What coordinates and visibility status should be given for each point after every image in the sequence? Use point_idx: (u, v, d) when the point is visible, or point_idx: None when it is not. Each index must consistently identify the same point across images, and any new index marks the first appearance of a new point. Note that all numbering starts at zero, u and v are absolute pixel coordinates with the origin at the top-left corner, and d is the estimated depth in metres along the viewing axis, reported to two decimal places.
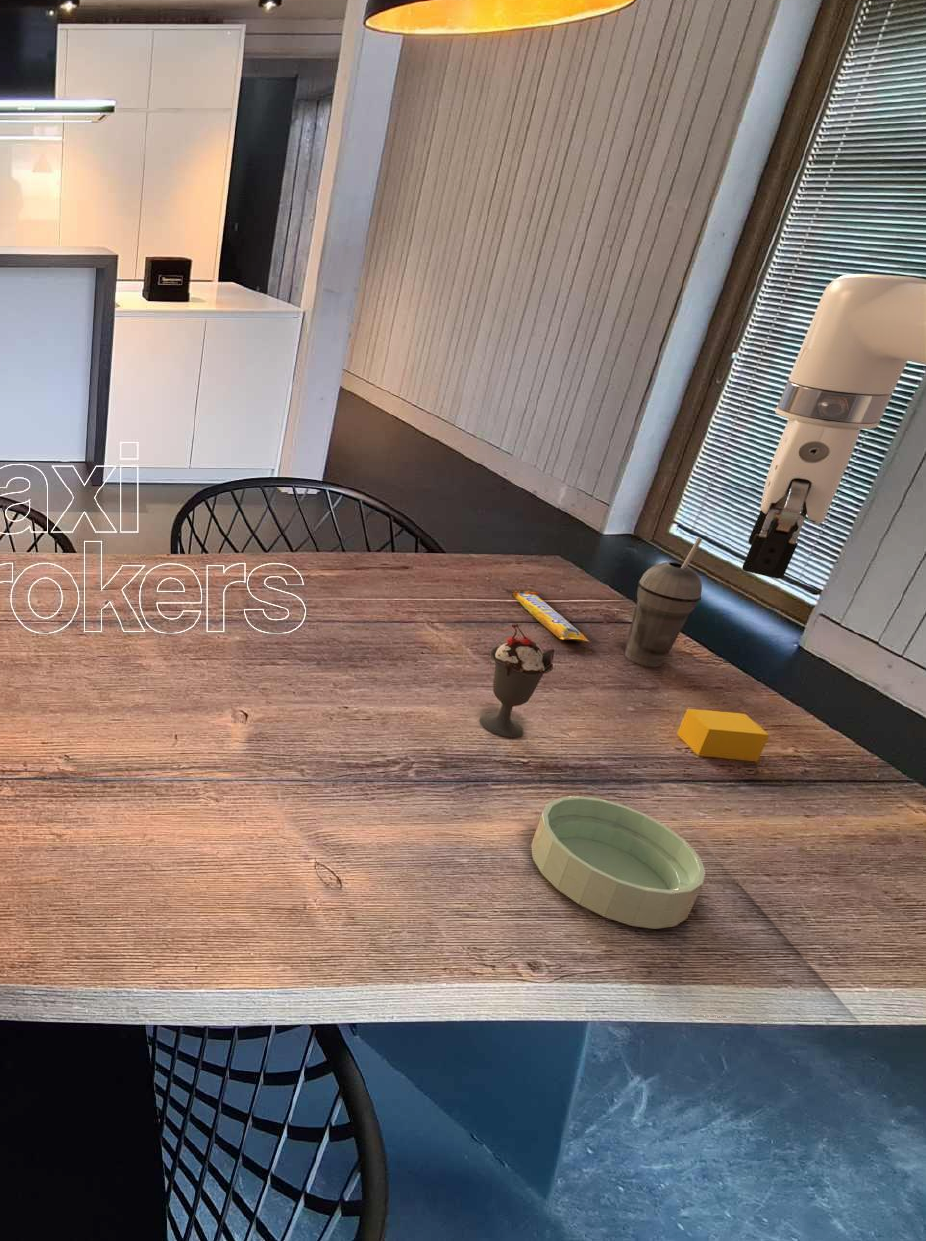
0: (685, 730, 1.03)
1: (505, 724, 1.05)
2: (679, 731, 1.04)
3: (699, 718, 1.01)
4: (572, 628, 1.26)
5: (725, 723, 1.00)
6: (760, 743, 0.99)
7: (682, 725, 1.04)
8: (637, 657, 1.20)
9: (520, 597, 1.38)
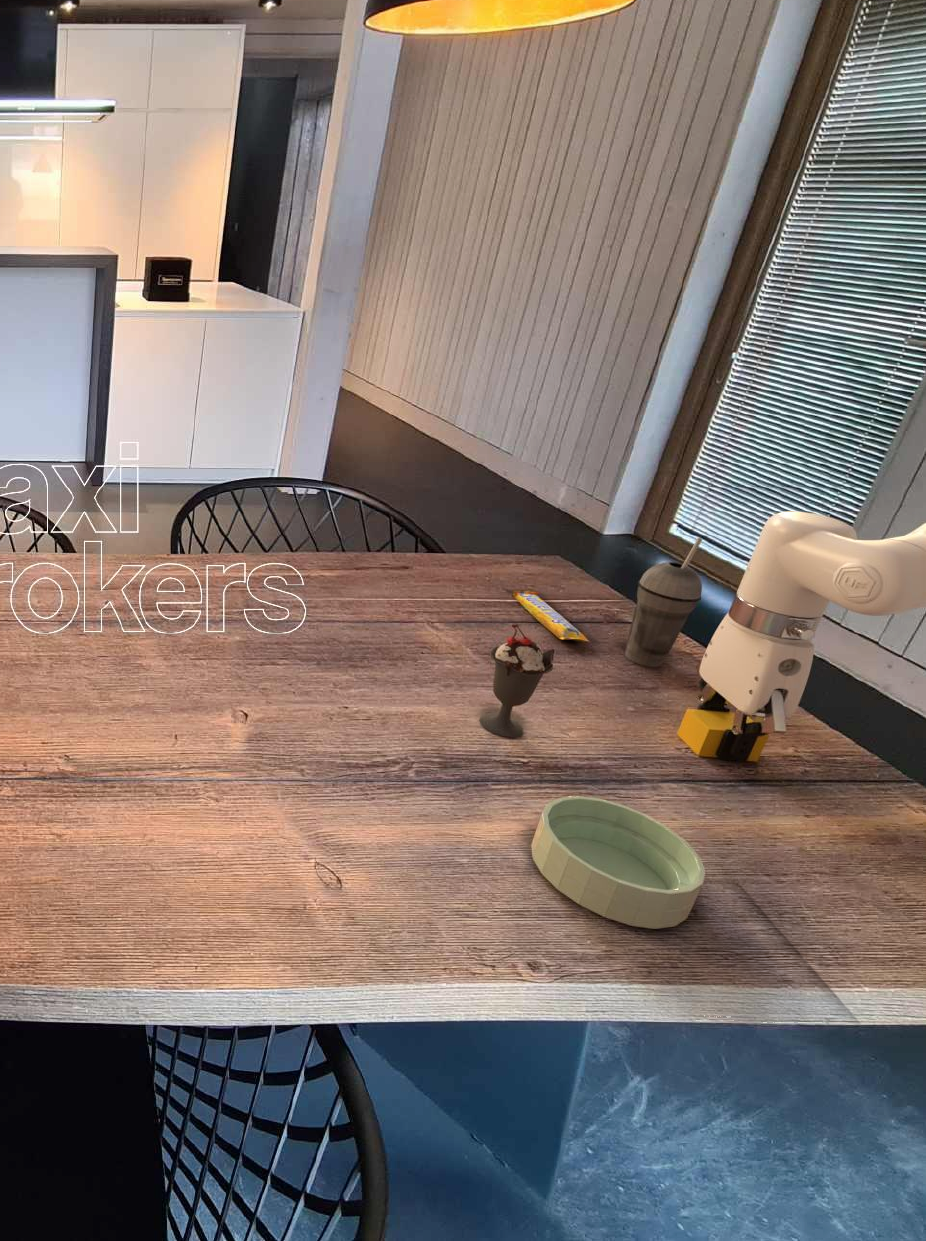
0: (685, 730, 1.03)
1: (505, 724, 1.05)
2: (679, 731, 1.04)
3: (699, 718, 1.01)
4: (572, 628, 1.26)
5: (725, 723, 1.00)
6: (760, 743, 0.99)
7: (682, 725, 1.04)
8: (637, 657, 1.20)
9: (520, 597, 1.38)
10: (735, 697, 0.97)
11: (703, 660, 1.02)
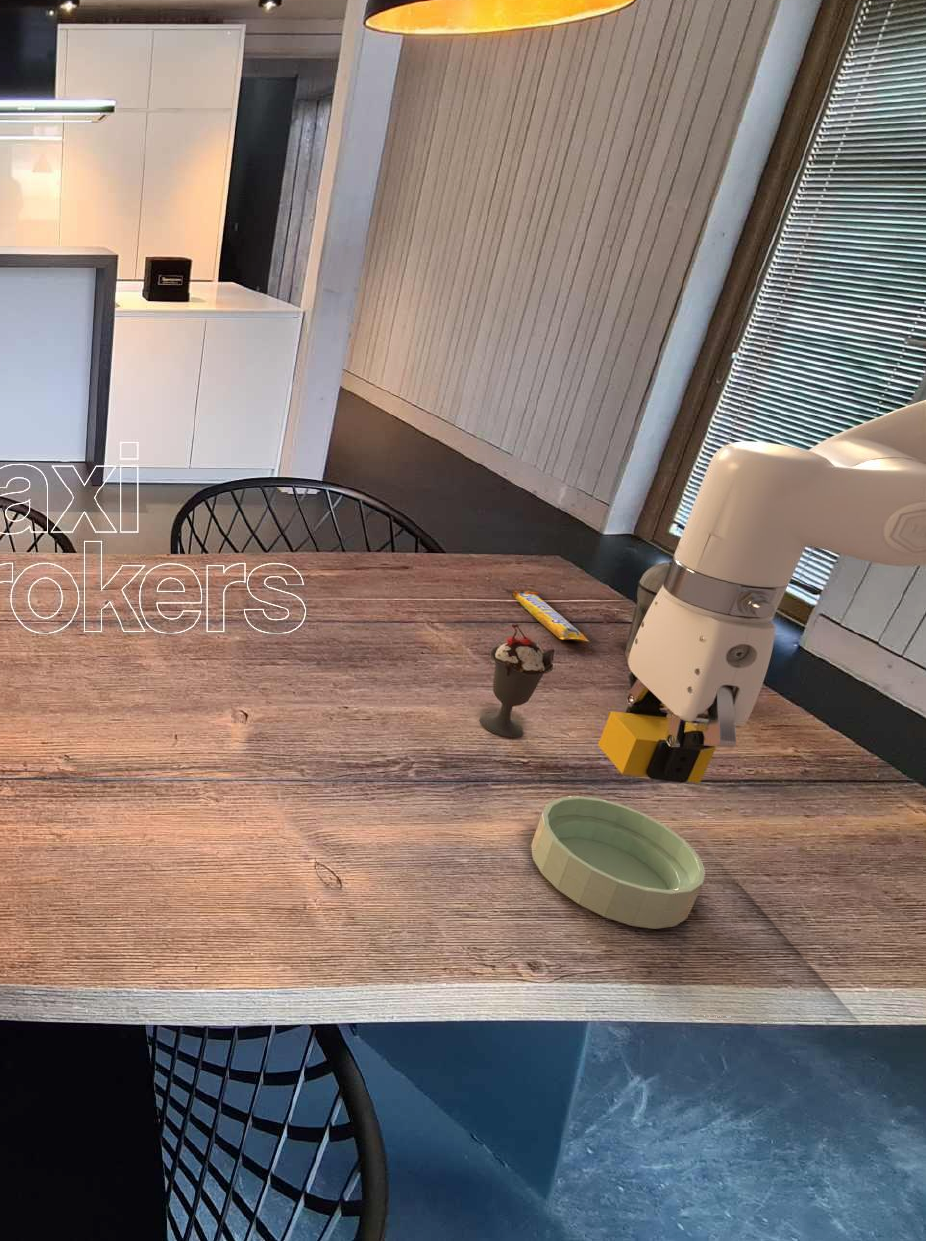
0: (608, 740, 0.78)
1: (505, 724, 1.05)
2: (601, 741, 0.79)
3: (625, 725, 0.76)
4: (572, 628, 1.26)
5: (659, 731, 0.75)
6: (704, 758, 0.73)
7: (604, 733, 0.78)
8: None
9: (520, 597, 1.38)
10: (670, 697, 0.71)
11: (633, 647, 0.77)
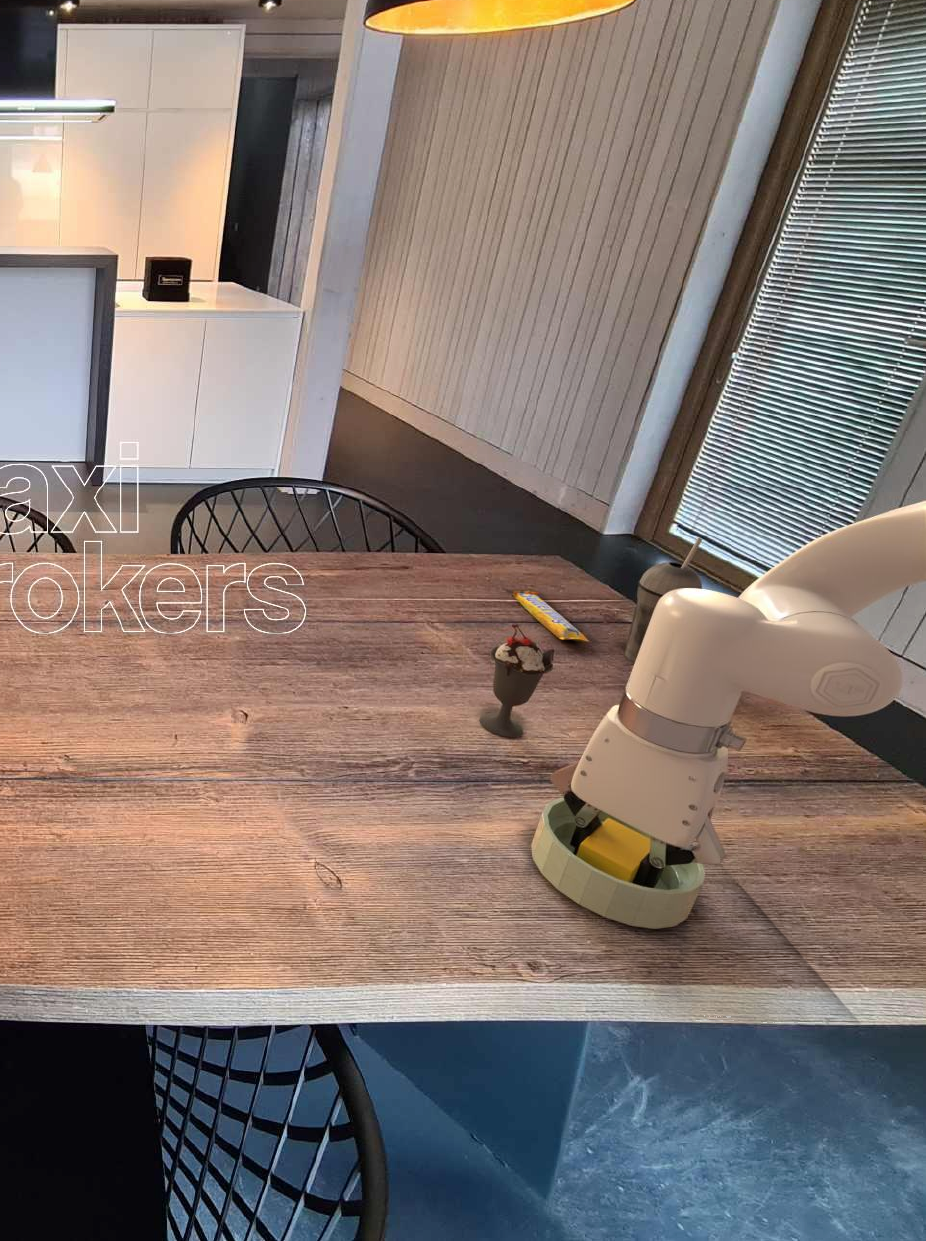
0: None
1: (505, 724, 1.05)
2: None
3: (607, 857, 0.79)
4: (572, 628, 1.26)
5: (624, 849, 0.80)
6: None
7: None
8: None
9: (520, 597, 1.38)
10: (657, 828, 0.76)
11: (580, 779, 0.80)
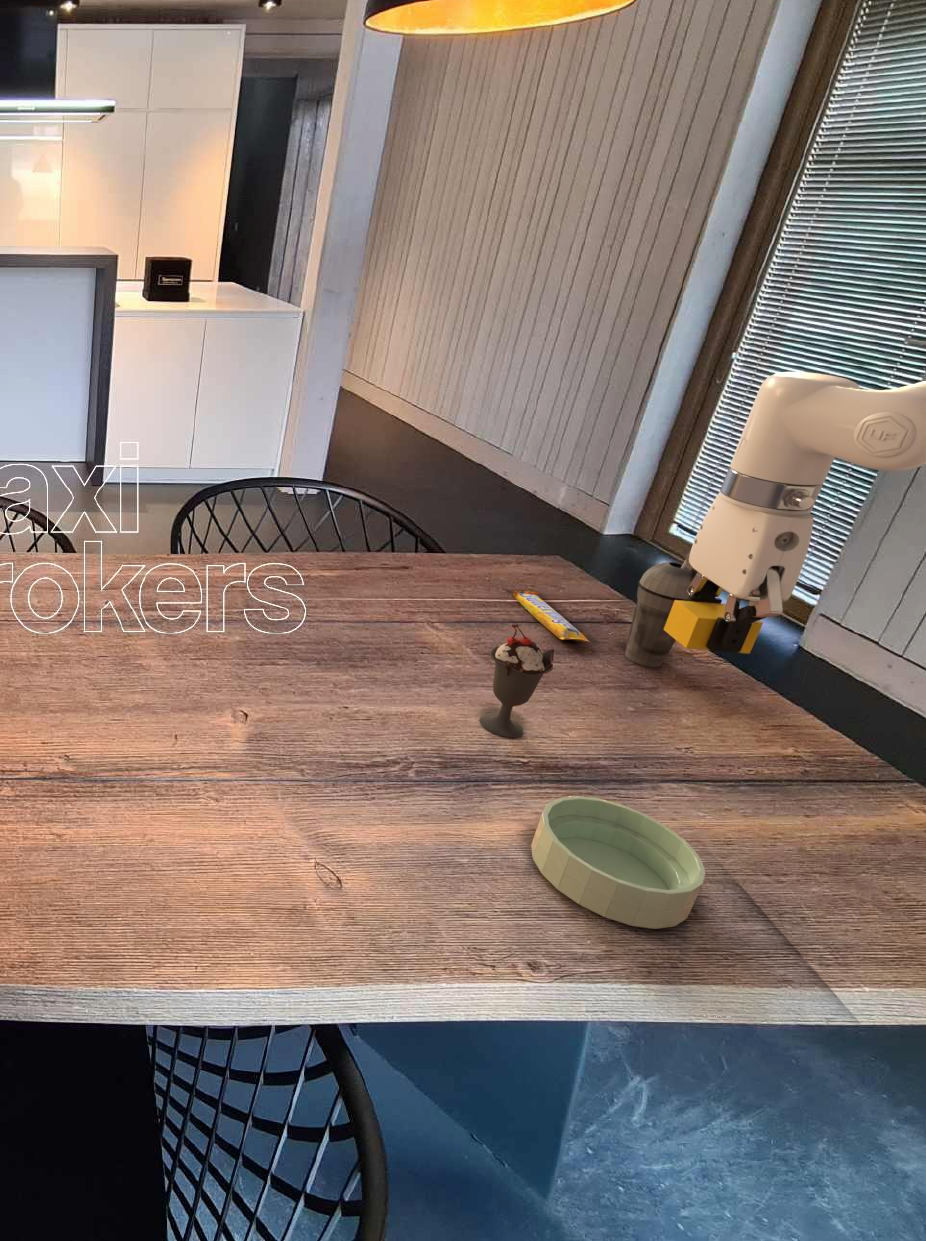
0: (672, 623, 0.95)
1: (505, 724, 1.05)
2: (666, 626, 0.96)
3: (688, 609, 0.93)
4: (572, 628, 1.26)
5: (716, 613, 0.92)
6: (753, 632, 0.91)
7: (669, 619, 0.96)
8: (637, 657, 1.20)
9: (520, 597, 1.38)
10: (727, 580, 0.89)
11: (693, 547, 0.95)
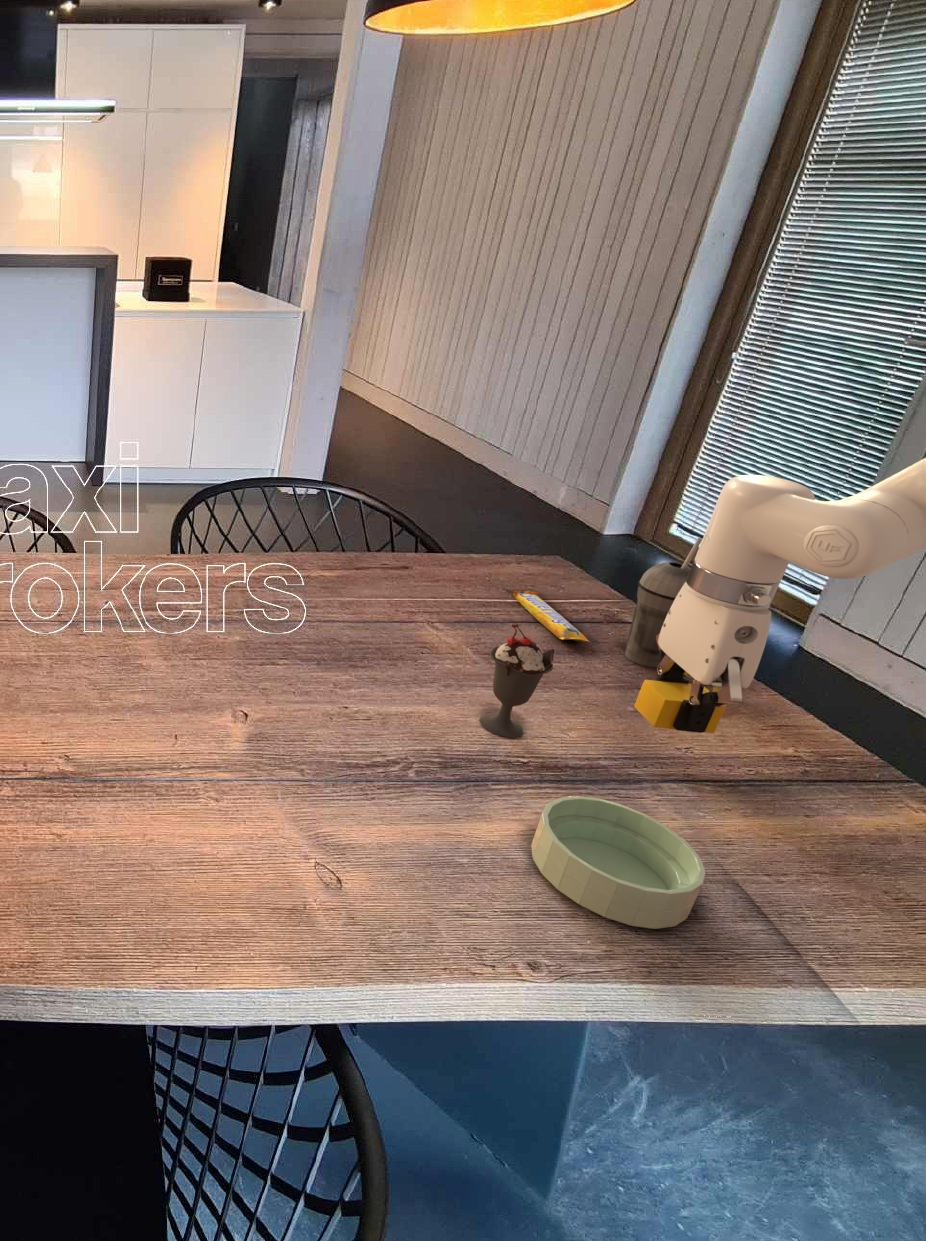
0: (642, 702, 1.01)
1: (505, 724, 1.05)
2: (636, 703, 1.02)
3: (656, 689, 0.99)
4: (572, 628, 1.26)
5: (682, 694, 0.98)
6: (717, 714, 0.96)
7: (639, 697, 1.01)
8: (637, 657, 1.20)
9: (520, 597, 1.38)
10: (692, 667, 0.94)
11: (662, 630, 1.00)
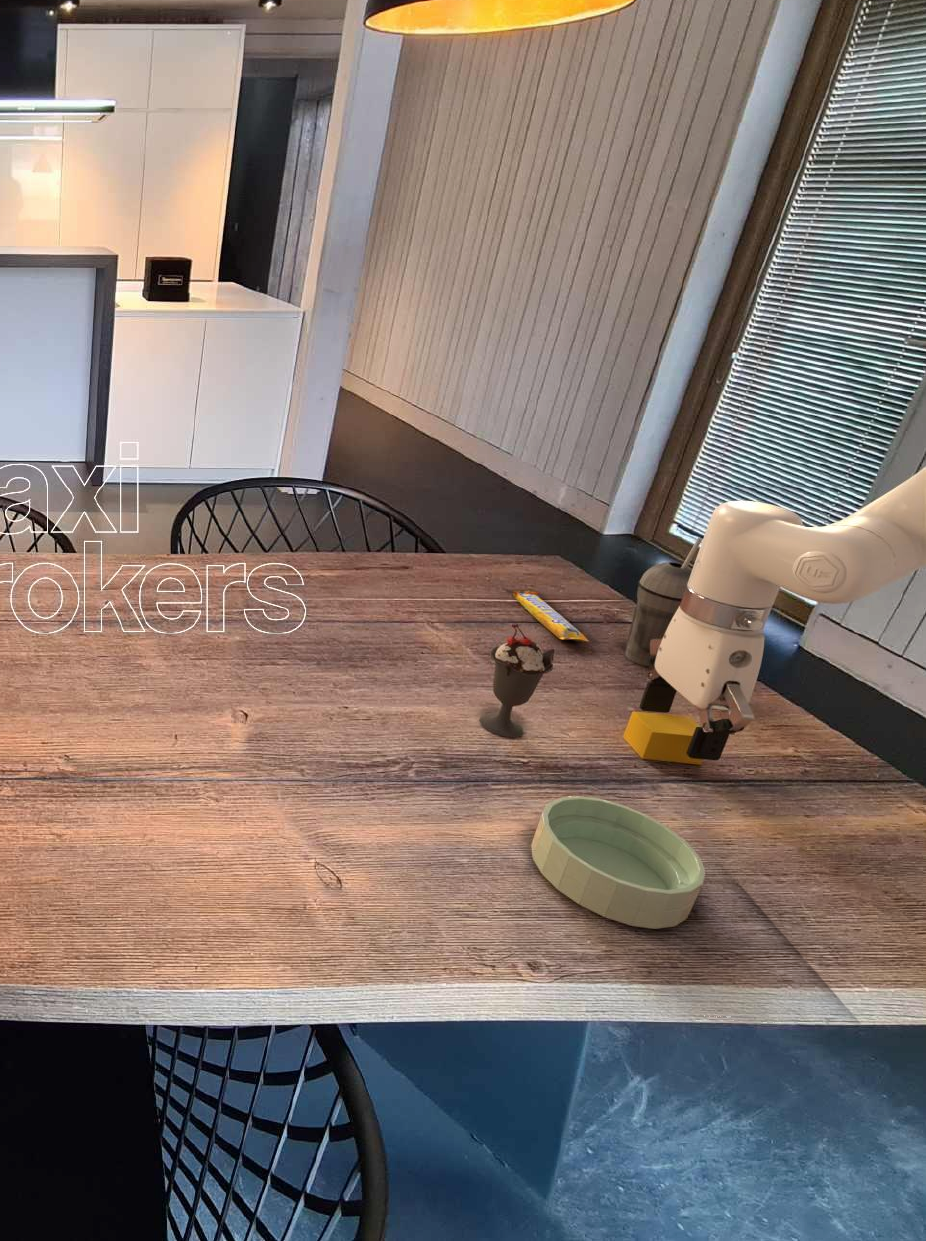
0: (630, 733, 1.02)
1: (505, 724, 1.05)
2: (625, 734, 1.03)
3: (644, 721, 1.00)
4: (572, 628, 1.26)
5: (669, 726, 0.99)
6: None
7: (627, 728, 1.03)
8: (637, 657, 1.20)
9: (520, 597, 1.38)
10: (688, 691, 0.95)
11: (658, 654, 1.01)
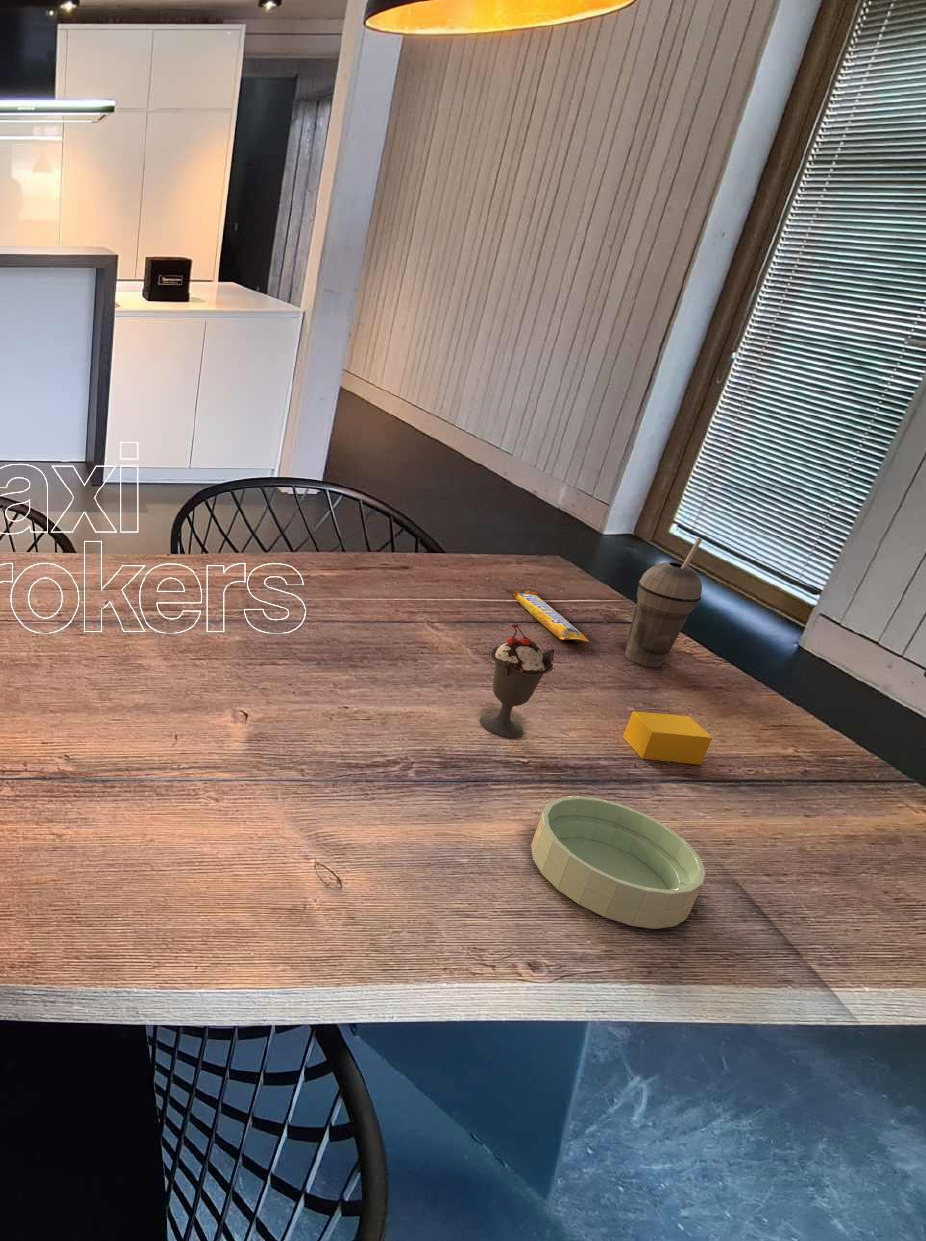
0: (630, 733, 1.02)
1: (505, 724, 1.05)
2: (625, 734, 1.03)
3: (644, 721, 1.00)
4: (572, 628, 1.26)
5: (669, 726, 0.99)
6: (703, 746, 0.98)
7: (627, 728, 1.03)
8: (637, 657, 1.20)
9: (520, 597, 1.38)
10: None
11: None
